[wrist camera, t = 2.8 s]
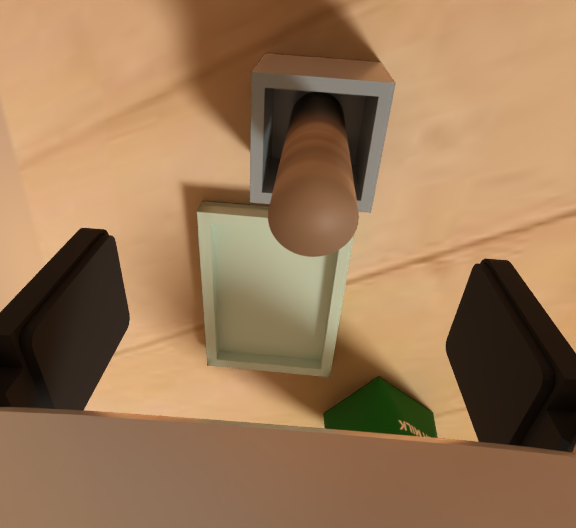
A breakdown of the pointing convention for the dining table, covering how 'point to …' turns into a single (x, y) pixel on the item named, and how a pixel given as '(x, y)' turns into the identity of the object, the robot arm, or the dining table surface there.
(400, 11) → the dining table surface
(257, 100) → the grey square bin
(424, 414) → the milk carton
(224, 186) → the dining table surface
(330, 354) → the tray
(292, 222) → the pin
